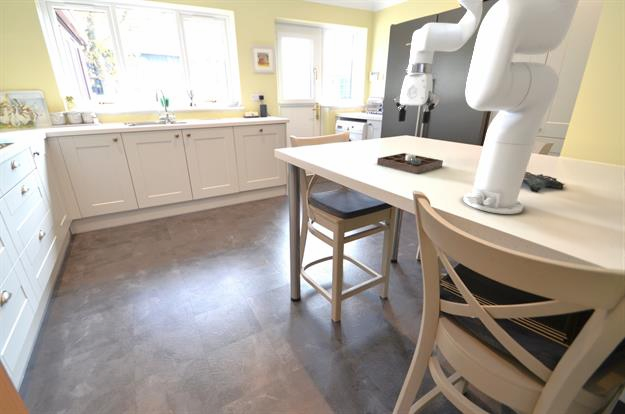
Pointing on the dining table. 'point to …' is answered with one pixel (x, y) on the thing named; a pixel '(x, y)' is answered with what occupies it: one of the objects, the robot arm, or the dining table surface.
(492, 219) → the dining table surface
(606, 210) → the dining table surface
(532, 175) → the decorative rock
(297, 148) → the dining table surface
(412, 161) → the black stone
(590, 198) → the dining table surface
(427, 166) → the board
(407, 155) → the white stone
